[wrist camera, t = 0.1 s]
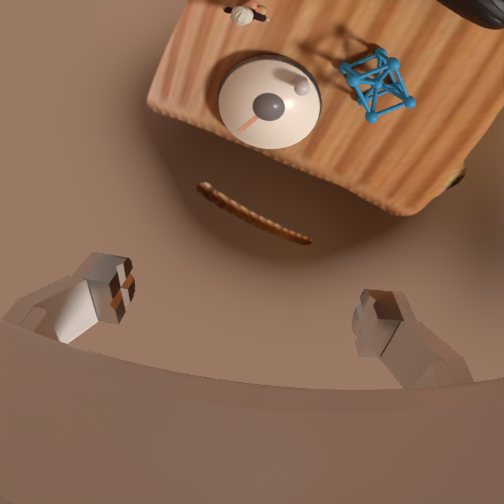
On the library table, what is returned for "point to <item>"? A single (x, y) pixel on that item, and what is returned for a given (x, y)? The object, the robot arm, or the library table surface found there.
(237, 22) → the grandmother figurine
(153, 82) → the library table surface
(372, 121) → the molecular structure
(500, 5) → the head bust
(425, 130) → the library table surface
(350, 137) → the library table surface
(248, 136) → the turntable
